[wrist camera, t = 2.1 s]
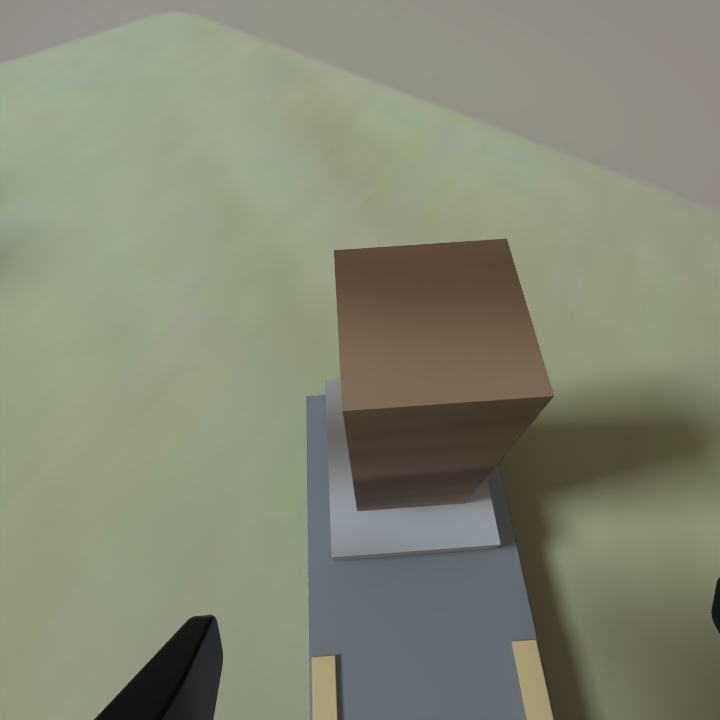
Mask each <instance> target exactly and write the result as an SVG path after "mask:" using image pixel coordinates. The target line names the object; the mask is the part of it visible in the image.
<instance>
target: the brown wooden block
mask: <svg viewBox="0 0 720 720" xmlns="http://www.w3.org/2000/svg"><path fill="white" fill-rule="evenodd" d="M334 259H335V278H336V297H337V316H338V334H339V353H340V372H341V379H335V380H325V383H326V412H327V441H328V470H329V499H330V528H331V557H332V559H333V560H334V561H340V560H353V559H366V558H379V557H392V556H405V555H419V554H432V553H445V552H458V551H471V550H484V549H494V548H495V547H497V546H499V545H501V544H500V539H499V534H498V529H497V524H496V519H495V514H494V509H493V504H492V500H491V495H490V490H489V485H488V480H487V476H488V475H489V474H490V473H491V471H492V470H493V469H494V468H495V467H496V465H497V464H498V463H499V462H500V460H501V459H502V458H503V457H504V456H505V454H506V453H507V452H508V451H509V450H510V448H511V447H512V446H513V445H514V444H515V442H516V441H517V440H518V439H519V438H520V436H521V435H522V434H523V433H524V432H525V430H526V429H527V428H528V427H529V425H530V424H531V423H532V422H533V421H534V419H535V418H536V417H537V416H538V415H539V413H540V412H541V411H542V410H543V409H544V407H545V406H546V405H547V404H548V403H549V401H550V400H551V399H552V398H553V397H554V394H553V391H552V388H551V385H550V381H549V378H548V375H547V371H546V368H545V365H544V361H543V358H542V355H541V351H540V348H539V345H538V341H537V338H536V335H535V331H534V328H533V325H532V321H531V318H530V315H529V311H528V308H527V305H526V301H525V298H524V295H523V291H522V288H521V285H520V281H519V278H518V275H517V271H516V268H515V265H514V261H513V258H512V255H511V251H510V248H509V245H508V242H507V239H496V240H481V241H466V242H451V243H436V244H421V245H407V246H392V247H377V248H362V249H347V250H334Z"/></svg>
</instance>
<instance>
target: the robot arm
mask: <svg viewBox="0 0 720 720" xmlns="http://www.w3.org/2000/svg"><path fill="white" fill-rule="evenodd" d="M711 613H712V618H713V622H714V624H715V626H716V628H717V630H718V631H719V633H720V578H719V579H718V580H717V584H716V589H715V594H714V600H713V605H712V612H711ZM222 664H223V650H222V644H221V639H220V634H219V628H218V623H217V620H216V618H215V616H213V615H205V616H194V617H191V618H190V619H189V620H188V621H187V622H186V623H185V624H184V625H183V626H182V627H181V628H180V629H179V630H178V631H177V632H176V633H175V634H174V635H173V636H172V637H171V639H170V640H169V641H168V642H167V643H166V644H165V645H164V646H163V647H162V648H161V649H160V650H159V651H158V652H157V653H156V654H155V656H154V657H153V658H152V659H151V660H150V661H149V662H148V663H147V664H146V665H145V666H144V667H143V668H142V669H141V670H140V671H139V673H138V674H137V675H136V676H135V677H134V678H133V679H132V680H131V681H130V682H129V683H128V684H127V685H126V686H125V687H124V688H123V690H122V691H121V692H120V693H119V694H118V695H117V696H116V697H115V698H114V699H113V700H112V701H111V702H110V703H109V704H108V705H107V707H106V708H105V709H104V710H103V711H102V712H101V713H100V714H99V715H98V716H97V717H96V718H95V719H94V720H213V718H214V712H215V706H216V700H217V694H218V688H219V683H220V677H221V671H222Z"/></svg>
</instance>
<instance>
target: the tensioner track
mask: <svg viewBox="0 0 720 720" xmlns="http://www.w3.org/2000/svg"><path fill="white" fill-rule="evenodd" d="M306 405H307V491H308V576H309V662H310V720H555V719H554V715H553V710H552V706H551V701H550V696H549V692H548V687H547V683H546V678H545V674H544V669H543V664H542V660H541V655H540V651H539V646H538V642H537V637H536V632H535V628H534V623H533V619H532V614H531V610H530V605H529V600H528V596H527V591H526V587H525V582H524V578H523V573H522V568H521V564H520V559H519V555H518V550H517V546H516V541H515V536H514V532H513V527H512V523H511V518H510V514H509V509H508V504H507V500H506V495H505V491H504V486H503V482H502V477H501V472H500V468H499V463H498V464H497V465H496V467H495V468H494V469H493V470H492V471H491V473H490V474H489V475H488V476H487V480H488V485H489V490H490V495H491V500H492V504H493V509H494V514H495V519H496V524H497V529H498V534H499V539H500V544H501V545H499V546H497V547H495V548H494V549H484V550H471V551H458V552H445V553H432V554H419V555H405V556H392V557H379V558H366V559H353V560H340V561H334V560H333V559H332V557H331V528H330V499H329V470H328V441H327V412H326V395H320V396H306Z"/></svg>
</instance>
